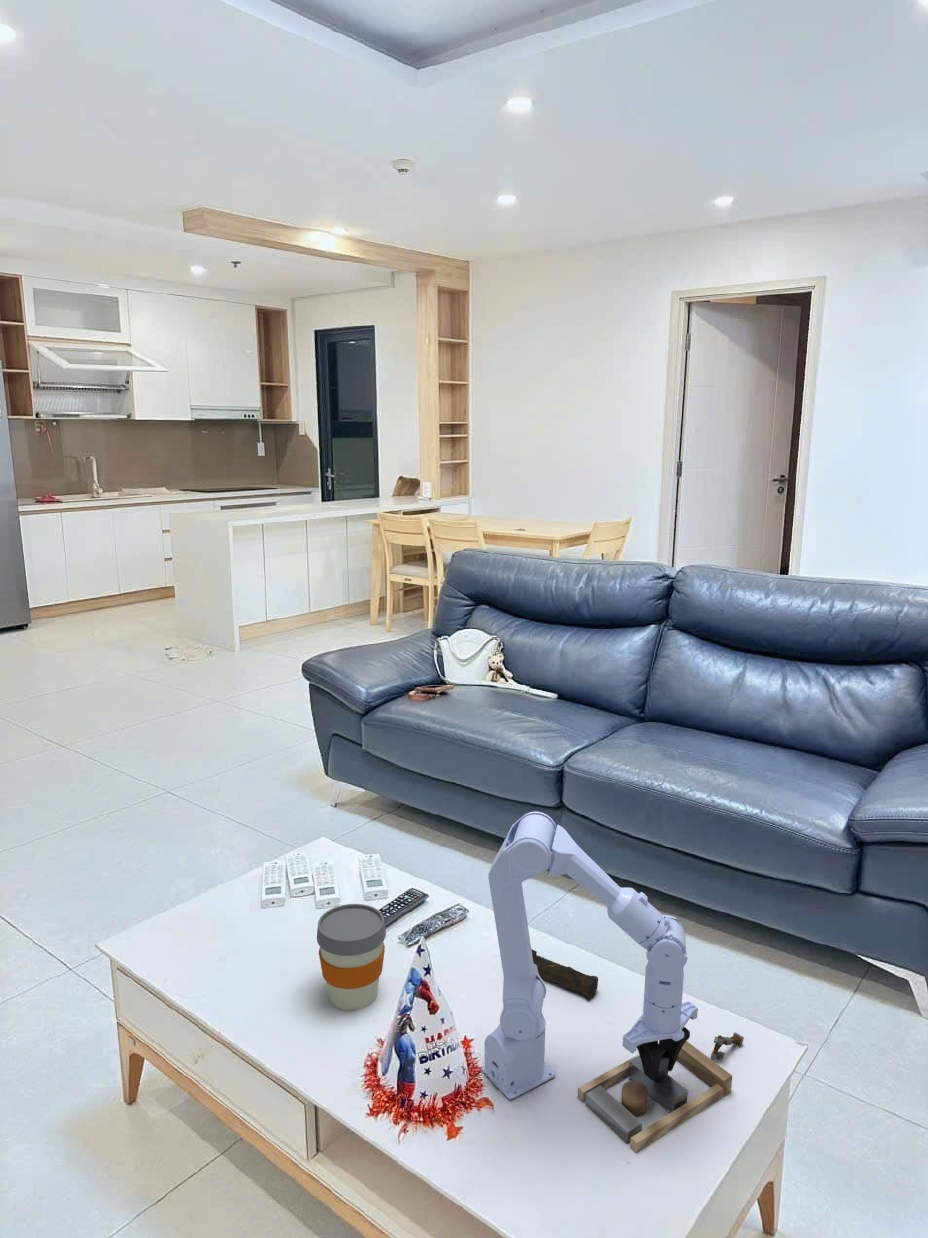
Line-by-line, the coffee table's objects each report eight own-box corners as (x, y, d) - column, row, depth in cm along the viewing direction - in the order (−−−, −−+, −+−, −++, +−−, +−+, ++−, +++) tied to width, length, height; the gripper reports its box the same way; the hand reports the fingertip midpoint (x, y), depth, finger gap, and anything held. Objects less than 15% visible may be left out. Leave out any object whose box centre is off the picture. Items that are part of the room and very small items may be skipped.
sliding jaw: (673, 1115, 132) (675, 1077, 130) (628, 1076, 140) (630, 1040, 138) (686, 1106, 134) (689, 1069, 132) (641, 1069, 141) (643, 1033, 140)
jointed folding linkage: (703, 1059, 143) (711, 1033, 143) (727, 1056, 148) (735, 1030, 148) (713, 1065, 141) (721, 1038, 142) (736, 1061, 147) (744, 1036, 147)
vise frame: (636, 1152, 126) (637, 1134, 125) (577, 1096, 136) (578, 1080, 135) (731, 1091, 137) (732, 1075, 136) (670, 1044, 147) (671, 1029, 147)
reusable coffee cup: (399, 983, 163) (398, 912, 160) (364, 1024, 152) (362, 948, 149) (342, 966, 168) (340, 896, 165) (305, 1004, 157) (302, 931, 154)
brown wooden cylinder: (634, 1120, 131) (635, 1104, 131) (615, 1104, 135) (616, 1087, 134) (652, 1109, 133) (653, 1093, 133) (634, 1093, 137) (635, 1077, 136)
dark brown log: (599, 992, 161) (600, 970, 160) (589, 1003, 158) (590, 981, 157) (514, 956, 172) (515, 935, 171) (503, 966, 169) (503, 944, 168)
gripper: (648, 1028, 126) (643, 1107, 129) (715, 993, 134) (709, 1068, 137) (614, 1002, 131) (610, 1078, 134) (680, 969, 139) (675, 1042, 142)
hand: (658, 1071), depth 136 cm, fingers closed on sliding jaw, 3 cm apart
